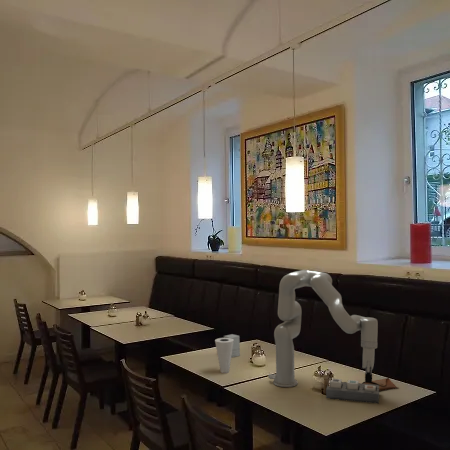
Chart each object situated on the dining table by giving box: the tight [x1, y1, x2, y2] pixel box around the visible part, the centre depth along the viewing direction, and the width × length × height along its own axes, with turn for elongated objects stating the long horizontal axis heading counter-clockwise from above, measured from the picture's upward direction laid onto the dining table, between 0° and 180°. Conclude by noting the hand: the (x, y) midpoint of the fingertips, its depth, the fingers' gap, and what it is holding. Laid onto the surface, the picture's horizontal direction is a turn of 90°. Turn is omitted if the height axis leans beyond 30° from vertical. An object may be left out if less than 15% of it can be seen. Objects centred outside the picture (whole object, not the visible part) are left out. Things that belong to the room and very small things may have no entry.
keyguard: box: [325, 381, 380, 404], centre depth 243 cm, size 24×13×4 cm, turn 72°
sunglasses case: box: [361, 377, 399, 393], centre depth 254 cm, size 18×7×7 cm, turn 114°
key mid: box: [346, 379, 360, 390], centre depth 243 cm, size 5×5×4 cm
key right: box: [364, 385, 376, 391], centre depth 240 cm, size 5×5×4 cm
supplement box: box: [223, 333, 241, 359], centre depth 318 cm, size 7×7×13 cm
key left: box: [329, 378, 343, 388], centre depth 245 cm, size 5×5×4 cm
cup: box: [214, 337, 234, 374], centre depth 285 cm, size 11×11×18 cm
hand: (368, 381), depth 241 cm, fingers closed
